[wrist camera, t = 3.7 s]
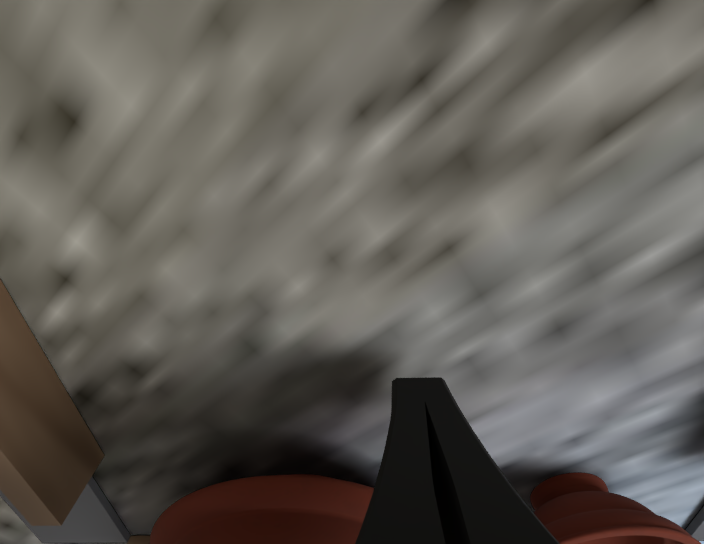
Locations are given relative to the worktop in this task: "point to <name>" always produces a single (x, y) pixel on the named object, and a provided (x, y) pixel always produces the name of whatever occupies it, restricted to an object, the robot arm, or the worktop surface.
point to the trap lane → (40, 429)
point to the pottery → (353, 500)
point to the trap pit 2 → (697, 526)
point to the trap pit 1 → (83, 521)
